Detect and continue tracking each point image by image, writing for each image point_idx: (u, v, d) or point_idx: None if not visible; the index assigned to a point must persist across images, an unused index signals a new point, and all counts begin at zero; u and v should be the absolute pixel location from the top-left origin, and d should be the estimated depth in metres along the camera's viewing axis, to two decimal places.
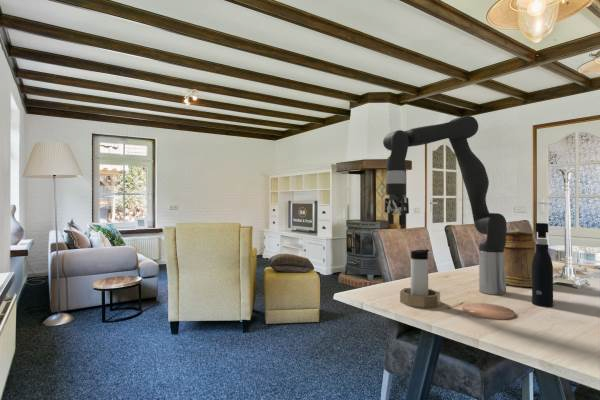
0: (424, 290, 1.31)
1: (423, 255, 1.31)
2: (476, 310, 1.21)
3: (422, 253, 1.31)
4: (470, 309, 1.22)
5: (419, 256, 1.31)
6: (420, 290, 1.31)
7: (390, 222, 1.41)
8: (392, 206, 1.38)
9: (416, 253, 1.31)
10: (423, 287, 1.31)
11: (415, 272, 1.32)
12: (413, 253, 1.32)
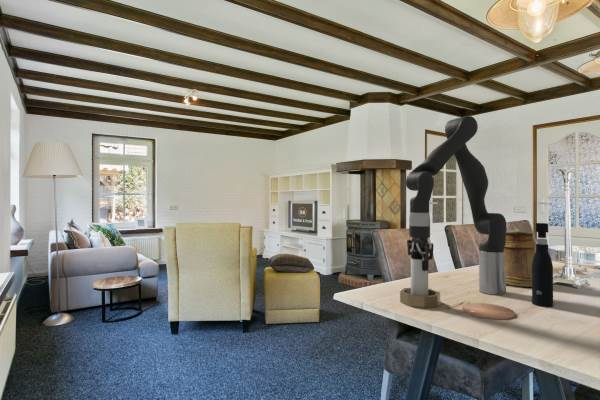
0: (424, 290, 1.31)
1: None
2: (476, 310, 1.21)
3: None
4: (470, 309, 1.22)
5: (419, 256, 1.31)
6: (420, 290, 1.31)
7: None
8: (416, 248, 1.34)
9: (416, 253, 1.31)
10: (423, 287, 1.31)
11: (415, 272, 1.31)
12: (413, 253, 1.32)
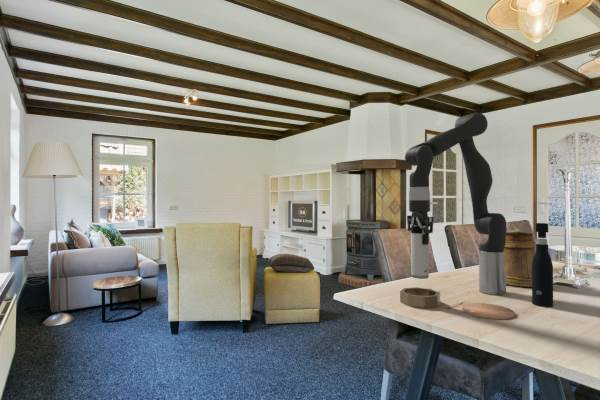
0: (424, 264, 1.31)
1: None
2: (476, 310, 1.21)
3: None
4: (470, 309, 1.22)
5: (419, 230, 1.31)
6: (420, 264, 1.31)
7: None
8: (416, 223, 1.34)
9: (416, 227, 1.31)
10: (423, 261, 1.31)
11: (415, 246, 1.32)
12: (413, 227, 1.32)
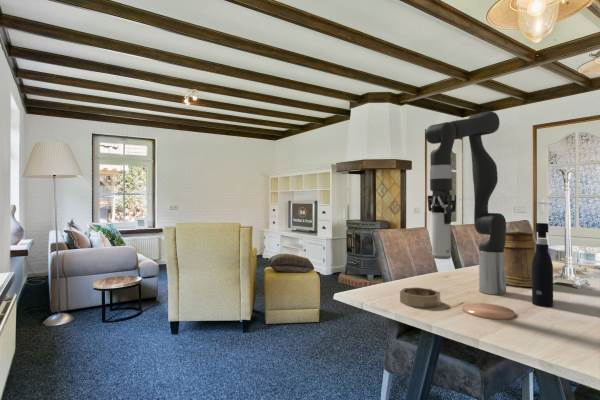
0: (447, 244, 1.27)
1: None
2: (476, 310, 1.21)
3: None
4: (470, 309, 1.22)
5: (441, 209, 1.27)
6: (442, 244, 1.27)
7: None
8: (437, 202, 1.30)
9: (438, 206, 1.28)
10: (446, 241, 1.27)
11: (437, 226, 1.28)
12: (434, 207, 1.29)
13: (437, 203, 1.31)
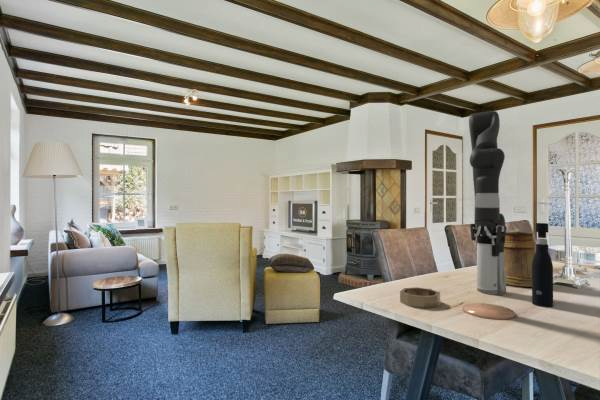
0: (494, 278, 1.19)
1: None
2: (476, 310, 1.21)
3: None
4: (470, 309, 1.22)
5: (489, 240, 1.19)
6: (489, 277, 1.19)
7: None
8: (483, 232, 1.23)
9: (485, 237, 1.20)
10: (493, 275, 1.19)
11: (484, 258, 1.20)
12: (481, 237, 1.21)
13: (483, 233, 1.23)
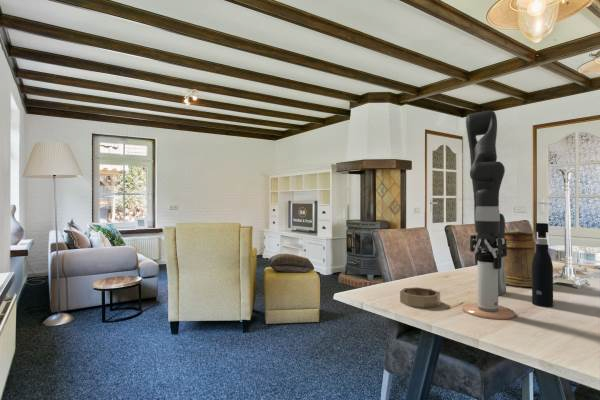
0: (495, 296, 1.19)
1: (493, 258, 1.19)
2: (476, 310, 1.21)
3: (492, 255, 1.19)
4: (470, 309, 1.22)
5: (489, 259, 1.19)
6: (490, 296, 1.19)
7: None
8: (483, 245, 1.23)
9: (485, 255, 1.20)
10: (493, 293, 1.19)
11: (484, 276, 1.20)
12: (481, 255, 1.21)
13: (482, 246, 1.23)
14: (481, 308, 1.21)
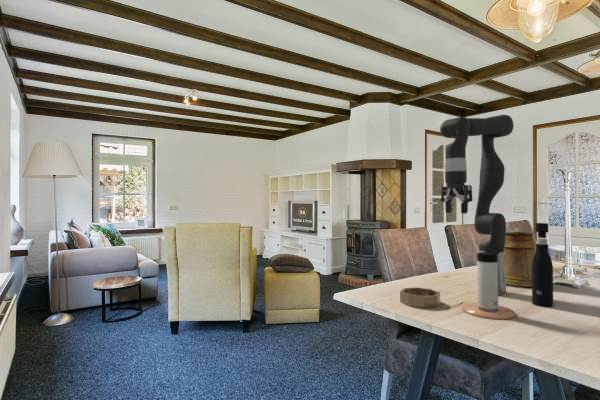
0: (494, 296, 1.19)
1: (493, 258, 1.19)
2: (476, 310, 1.21)
3: (492, 255, 1.19)
4: (470, 309, 1.22)
5: (489, 259, 1.19)
6: (490, 296, 1.19)
7: (448, 211, 1.39)
8: (452, 194, 1.36)
9: (485, 255, 1.20)
10: (493, 293, 1.19)
11: (484, 276, 1.20)
12: (481, 255, 1.21)
13: (451, 195, 1.36)
14: (481, 308, 1.21)
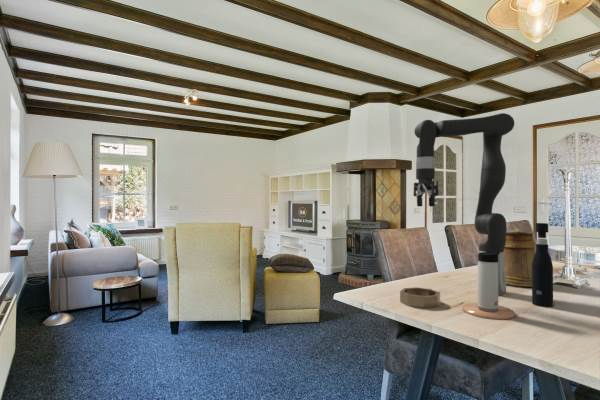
0: (495, 296, 1.19)
1: (494, 258, 1.19)
2: (476, 310, 1.21)
3: (493, 255, 1.19)
4: (470, 309, 1.22)
5: (489, 259, 1.19)
6: (490, 296, 1.19)
7: (419, 204, 1.54)
8: (422, 189, 1.51)
9: (486, 255, 1.20)
10: (494, 293, 1.19)
11: (484, 276, 1.20)
12: (482, 255, 1.21)
13: (421, 190, 1.51)
14: (481, 308, 1.21)
